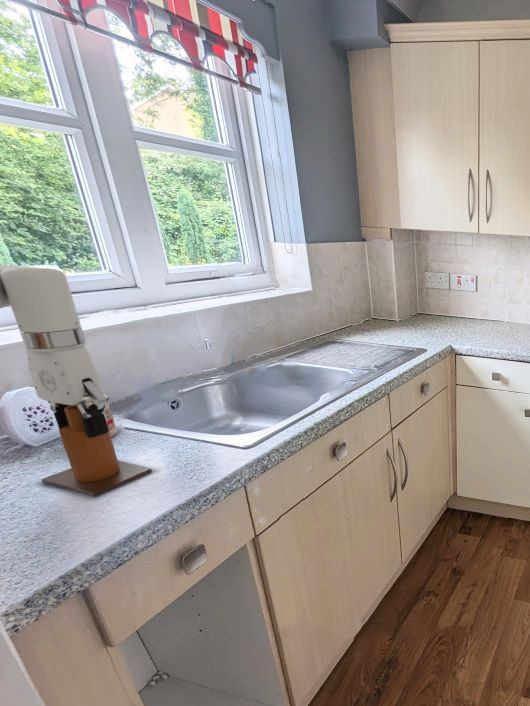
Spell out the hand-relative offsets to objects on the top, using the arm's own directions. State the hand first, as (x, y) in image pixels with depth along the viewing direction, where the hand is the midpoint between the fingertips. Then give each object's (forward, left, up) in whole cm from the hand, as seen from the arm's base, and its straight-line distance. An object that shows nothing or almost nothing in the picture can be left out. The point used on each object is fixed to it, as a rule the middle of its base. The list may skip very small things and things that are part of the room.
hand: (84, 431), depth 85 cm
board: (0, 0, -10) cm, 10 cm away
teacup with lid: (-22, +13, -10) cm, 27 cm away
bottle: (0, 0, -9) cm, 9 cm away
